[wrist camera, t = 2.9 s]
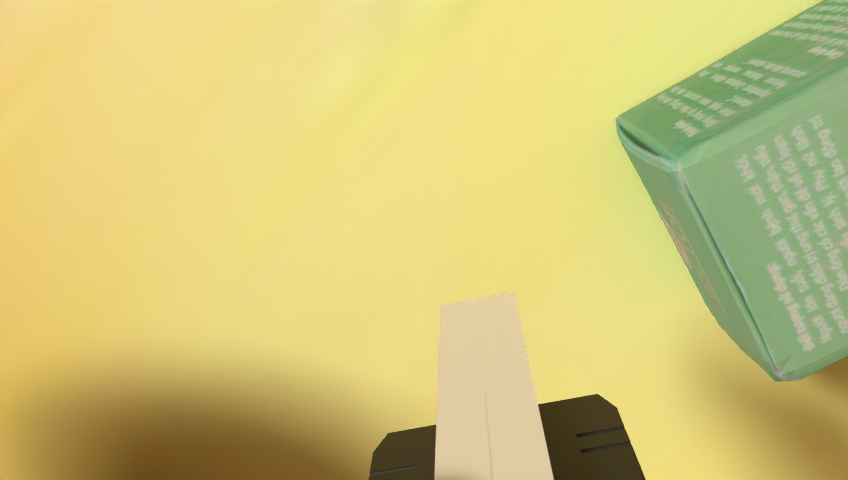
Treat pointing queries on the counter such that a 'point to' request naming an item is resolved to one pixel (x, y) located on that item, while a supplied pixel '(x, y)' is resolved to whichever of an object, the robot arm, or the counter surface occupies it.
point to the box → (760, 187)
